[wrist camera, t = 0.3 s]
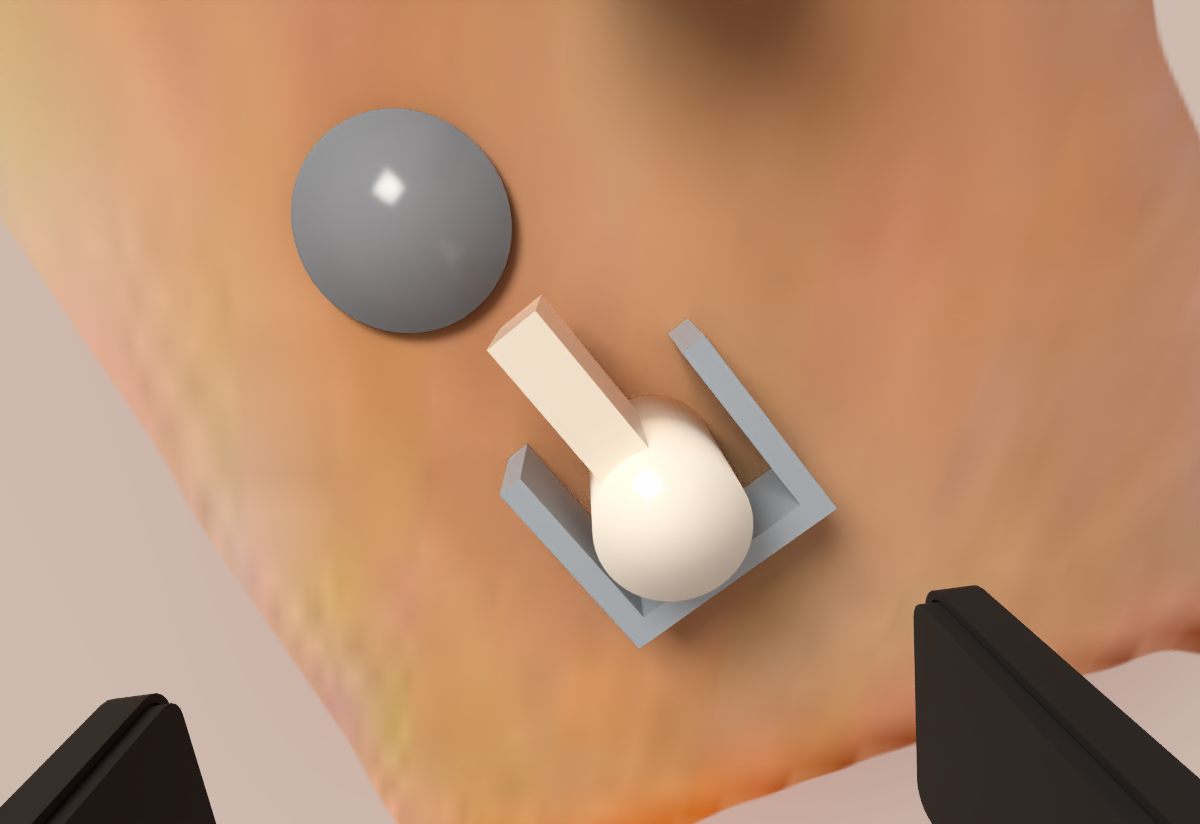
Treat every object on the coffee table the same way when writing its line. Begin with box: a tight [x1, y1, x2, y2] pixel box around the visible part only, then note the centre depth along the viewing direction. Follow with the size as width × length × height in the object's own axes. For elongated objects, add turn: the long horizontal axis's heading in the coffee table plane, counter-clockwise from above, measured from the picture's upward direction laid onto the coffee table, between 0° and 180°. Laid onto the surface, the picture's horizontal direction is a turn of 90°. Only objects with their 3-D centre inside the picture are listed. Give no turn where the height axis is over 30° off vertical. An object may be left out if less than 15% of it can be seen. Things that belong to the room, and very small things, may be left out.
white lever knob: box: [487, 295, 753, 602], centre depth 33 cm, size 13×6×9 cm, turn 39°
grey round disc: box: [291, 108, 512, 333], centre depth 34 cm, size 10×10×1 cm
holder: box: [499, 318, 837, 649], centre depth 36 cm, size 11×10×5 cm
